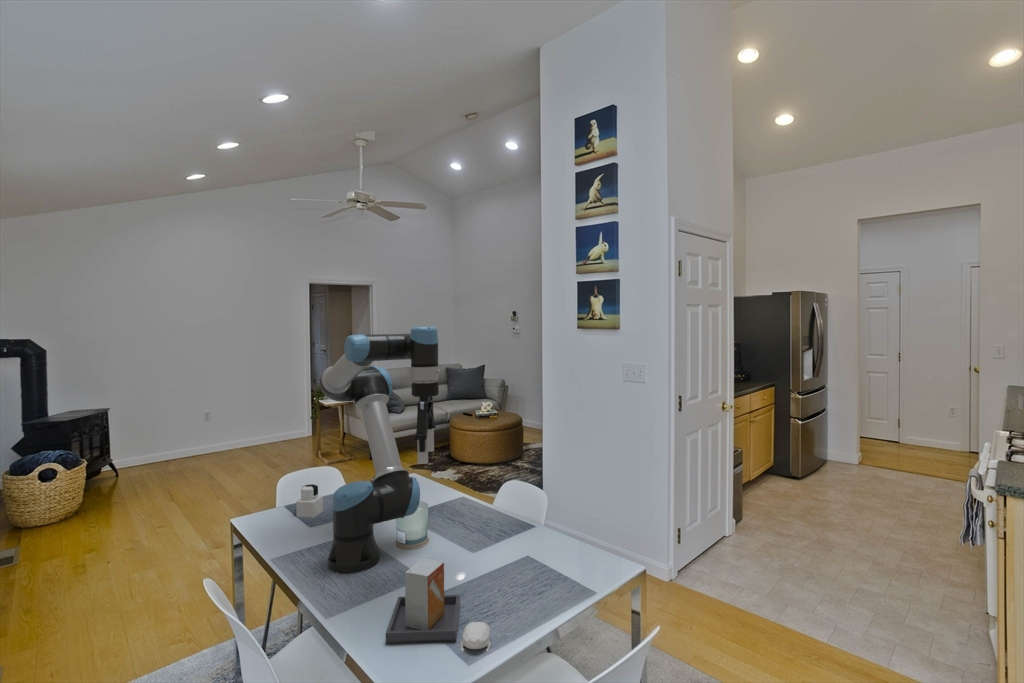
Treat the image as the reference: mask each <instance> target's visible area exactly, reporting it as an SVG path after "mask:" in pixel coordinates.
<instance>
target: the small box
mask: <svg viewBox="0 0 1024 683" xmlns="http://www.w3.org/2000/svg"><path fill="white" fill-rule="evenodd" d="M404 585H405V586H404V588H405V589H404V594H405V595H404V597H405V610H406V626H407V627H411V628H415V629H419V630H430V629H431V627H432V626H433V625H434V624H435V623H436V622H437V621H438V620H439V619H440V618H441V617H442V616H443V615H444V595H445V562H444V561H440V560H435V559H429V558H424V557H423V558H421V559H420V560H419V561H417V562H415V564H413V565H412V566H410V568H409V569H408V570H406V571H405V572H404Z"/></svg>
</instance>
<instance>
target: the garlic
mask: <svg viewBox="0 0 1024 683" xmlns="http://www.w3.org/2000/svg"><path fill="white" fill-rule="evenodd" d="M461 638H462V639H461V642H460V645H459V646H460V650H461V652H464V651H465V648H468V649H471V650H480V649H484V648H486V649H485V651H486V652H488V651H489V650H490V649H491V628H490V626H489V624H488V623H485V622H483V621H482V622H481V621H471V622H469V623H468V624H467V625H466V626H465V627H464V629H463V632H462V636H461ZM464 647H465V648H464Z"/></svg>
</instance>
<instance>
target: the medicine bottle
mask: <svg viewBox="0 0 1024 683" xmlns="http://www.w3.org/2000/svg"><path fill="white" fill-rule="evenodd" d="M295 510H296V511H295V513H296V517H298V518H313V519H314V518H315V517H317V516H318V515H319V514H320V515H321V513H322V512H324V496H322V495H319V486H318V485H316V484H307V485H306V484H305V485H303V486H302V487H301V488H300V499H298V500H296V502H295Z"/></svg>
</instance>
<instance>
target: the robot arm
mask: <svg viewBox="0 0 1024 683" xmlns="http://www.w3.org/2000/svg"><path fill="white" fill-rule="evenodd" d="M438 336H439V335H438V328H436V327H435V326H413V327H411V329H410V333H394V334H393V333H392V334H391V333H388V334H387V333H386V334H381V333H380V334H378V333H377V334H368V333H367V334H365V333H363V334H362V333H358V334H352V335H351V334H350V335H348V336H347V337H346V338H345V342H344V345H343V351H344V354H342V356H341V357H340V358H338V360H337V361H335V363H334V364H333V365H331V366H329V367H327V368H325V369H324V371H323V372H322V373H321V375H320V377H319V383H318V385H319V389H320V391H321V392H322V394H324V396H325V397H327V398H329V399H330V400H332V401H335V402H342V403H345V402H346V403H347V402H354V405H355V408H356V409H358V410H359V411H361V415H362V416H361V417H362V420H363V424H364V429H365V433H366V437H367V442H368V447H369V450H370V455H371V460H372V462H373V468H374V471H375V472H374V473H375V475H374V477H375V478H374V479H373V485H372V483H371V481H369V480H361V481H359V480H358V481H354V482H350V483H346V484H344V485H342V486H340V487H339V488H337V489H336V490H335V491H334V492H333V495H332V506H331V509H332V531H333V532H332V534H333V535H332V536H333V538H332V539H333V540H332V544H331V546H330V550H329V552H328V557H327V568H328V567H329V568H328V569H329V571H331V570H332V571H331V572H333V571H334V572H333V573H336V572H338V573H337V574H344V575H345V574H355V573H360V572H364V571H367V570H369V569H372V568H373V567H374V566H376V565H377V564H378V563H379V562H380V559H381V558H380V556H381V555H380V554H381V553H380V548H379V546H378V542H377V540H376V538H375V537H376V536H375V534H374V525H375V524H380V523H383V522H388V521H392V520H396V519H397V520H398V519H403V518H405V517H408V516H411V515H414V514H415V513H416V512H417V510H418V508H419V505H420V502H421V501H420V500H421V490H420V484H419V482H418V480H417V478H416V477H413V476H410V474H409V470H408V469H406V468H404V467H403V466H402V462H401V458H400V454H399V449H398V446H397V440H396V438H395V434H394V430H393V426H392V422H391V417H390V414H389V411H388V406H387V404H388V402H389V401H390V397H391V396H392V392H393V386H392V385H393V381H392V378H391V375H390V373H389V372H388V371H387V369H386V368H384V367H382V366H373V365H372V366H370V364H372V363H373V362H378V361H380V362H381V361H402V360H410V363H411V364H410V381H412V383H411V395H412V396H413V397H415V398H416V397H417V398H418V397H419V401H417V403H416V405H417V406H416V408H417V413H416V414H417V416H416V433H415V434H416V435H415V436H414V437H413V438H414V441H416V442H417V444H416V445H417V446H416V448H417V464H419V465H422V464H423V465H424V464H425V465H426V464H427V465H428V464H429V453H430V452H435V429H437V424H435V418H434V417H435V416H434V415H435V414H434V413H435V412H434V401H433V399H434V397H437V396H439V392H440V391H439V390H440V389H439V385H440V384H439V382H438V380H439V374H440V373H441V369H439V337H438Z"/></svg>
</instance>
